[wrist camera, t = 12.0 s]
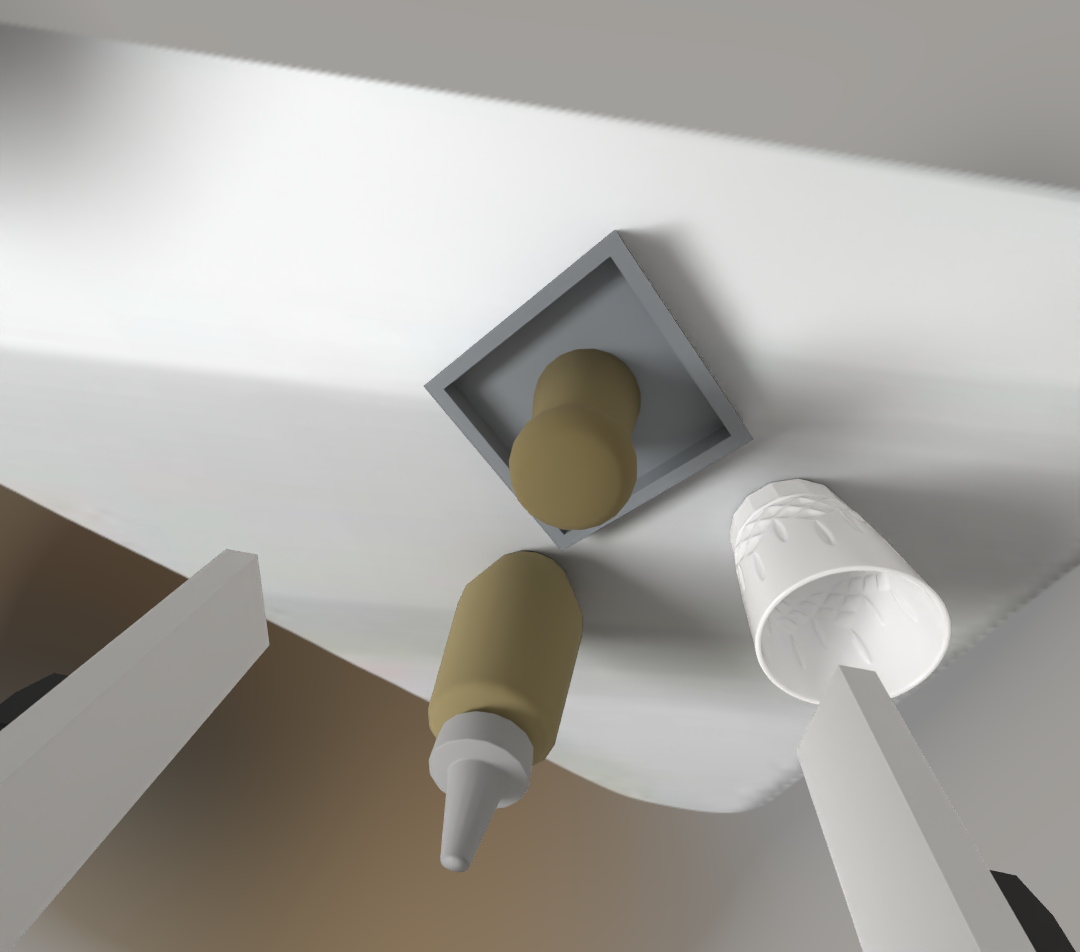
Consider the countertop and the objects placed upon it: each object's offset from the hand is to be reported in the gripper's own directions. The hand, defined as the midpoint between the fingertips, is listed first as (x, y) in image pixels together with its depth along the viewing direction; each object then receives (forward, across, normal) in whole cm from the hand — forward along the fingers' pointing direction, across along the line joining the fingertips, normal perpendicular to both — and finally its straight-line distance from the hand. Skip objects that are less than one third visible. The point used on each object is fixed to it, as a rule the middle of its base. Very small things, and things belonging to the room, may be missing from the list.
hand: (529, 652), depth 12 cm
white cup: (+21, +13, -6) cm, 25 cm away
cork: (+20, 0, 0) cm, 20 cm away
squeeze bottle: (+21, -2, -14) cm, 25 cm away
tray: (+21, 0, 0) cm, 21 cm away
